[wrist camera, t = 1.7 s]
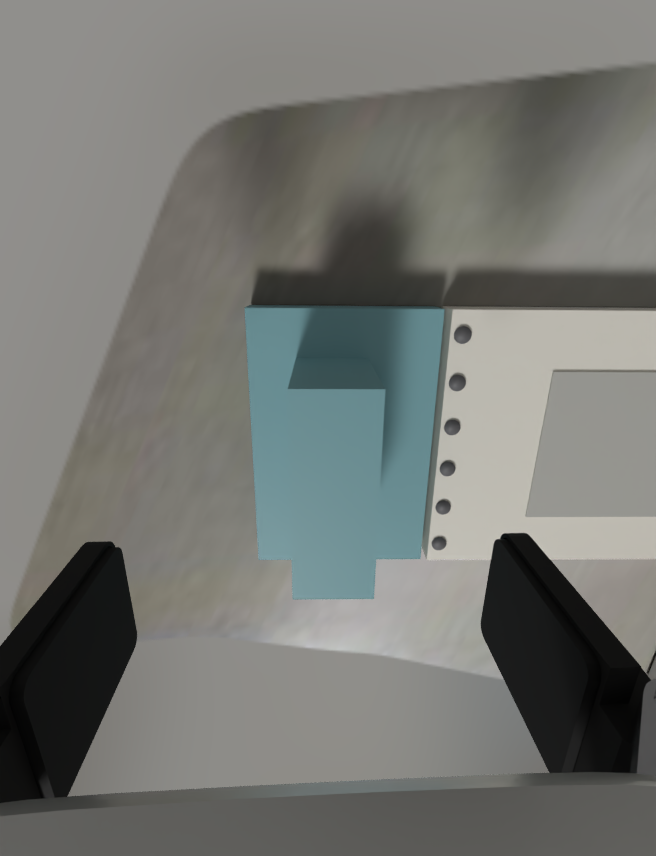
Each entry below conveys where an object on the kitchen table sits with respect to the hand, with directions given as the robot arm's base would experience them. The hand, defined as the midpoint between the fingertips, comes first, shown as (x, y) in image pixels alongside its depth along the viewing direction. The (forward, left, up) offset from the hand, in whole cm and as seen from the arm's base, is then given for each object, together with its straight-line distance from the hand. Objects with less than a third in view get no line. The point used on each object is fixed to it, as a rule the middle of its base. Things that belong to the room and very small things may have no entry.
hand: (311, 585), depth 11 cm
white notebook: (-13, 0, -11) cm, 16 cm away
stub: (-1, 0, -11) cm, 11 cm away
